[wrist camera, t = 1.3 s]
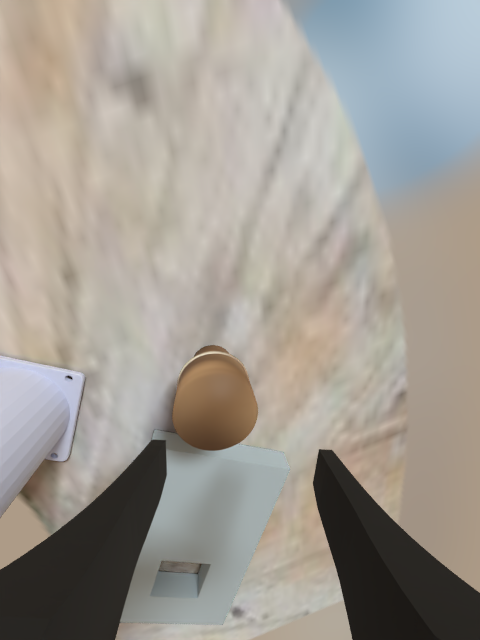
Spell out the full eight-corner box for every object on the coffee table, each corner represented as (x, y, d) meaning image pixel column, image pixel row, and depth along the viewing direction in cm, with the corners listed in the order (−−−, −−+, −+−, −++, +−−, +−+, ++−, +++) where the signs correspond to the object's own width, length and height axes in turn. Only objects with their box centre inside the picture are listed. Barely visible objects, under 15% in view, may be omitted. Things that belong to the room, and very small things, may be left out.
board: (107, 595, 26) (100, 622, 24) (154, 429, 22) (150, 446, 20) (221, 599, 29) (222, 624, 27) (283, 452, 25) (290, 469, 23)
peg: (174, 383, 21) (161, 443, 15) (190, 328, 20) (184, 366, 14) (231, 396, 22) (243, 457, 16) (249, 343, 21) (270, 386, 15)
